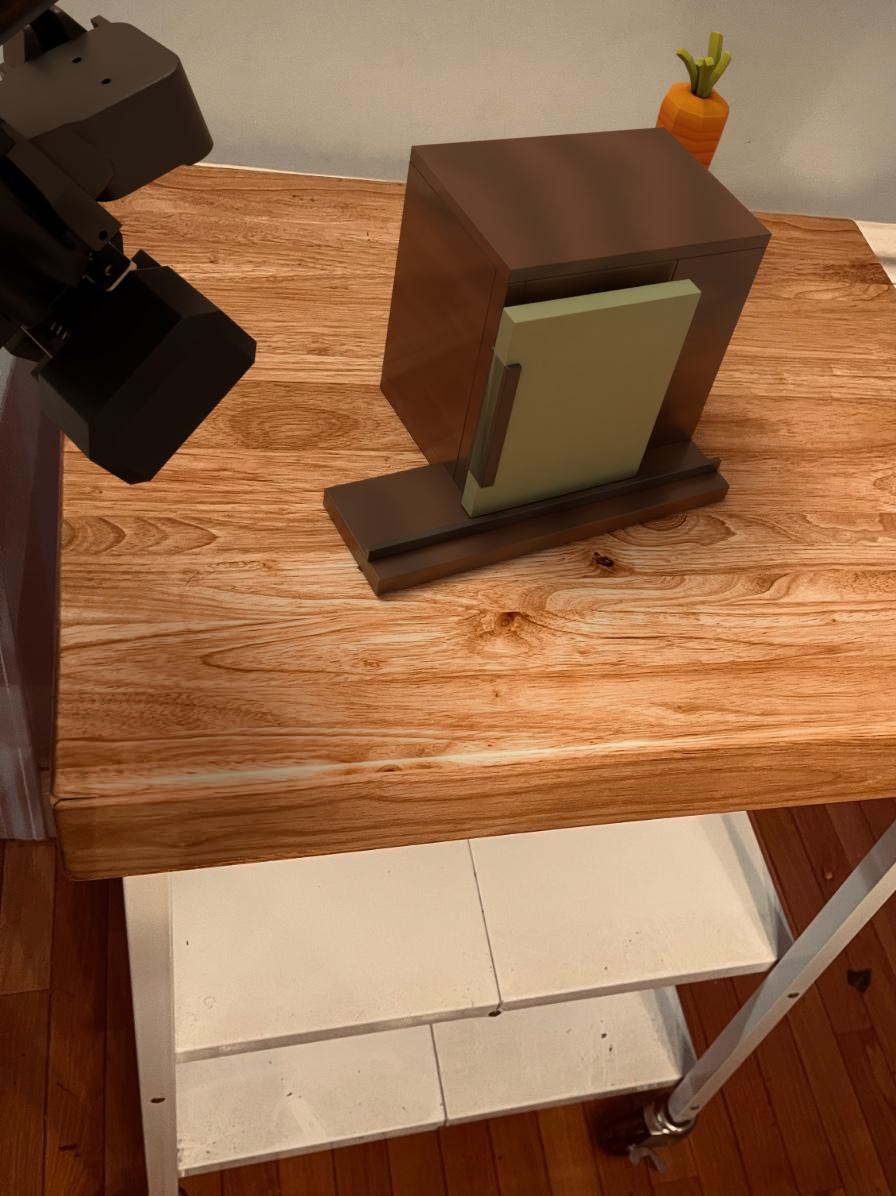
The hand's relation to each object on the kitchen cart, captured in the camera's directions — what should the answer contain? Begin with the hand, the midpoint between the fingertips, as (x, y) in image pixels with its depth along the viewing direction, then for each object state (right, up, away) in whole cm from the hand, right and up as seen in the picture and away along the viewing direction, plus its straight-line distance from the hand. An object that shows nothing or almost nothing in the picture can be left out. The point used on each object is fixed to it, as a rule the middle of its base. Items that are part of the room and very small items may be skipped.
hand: (197, 395), depth 49 cm
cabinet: (+11, 0, +21) cm, 24 cm away
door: (+14, -2, +18) cm, 23 cm away
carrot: (+21, +19, +42) cm, 50 cm away
